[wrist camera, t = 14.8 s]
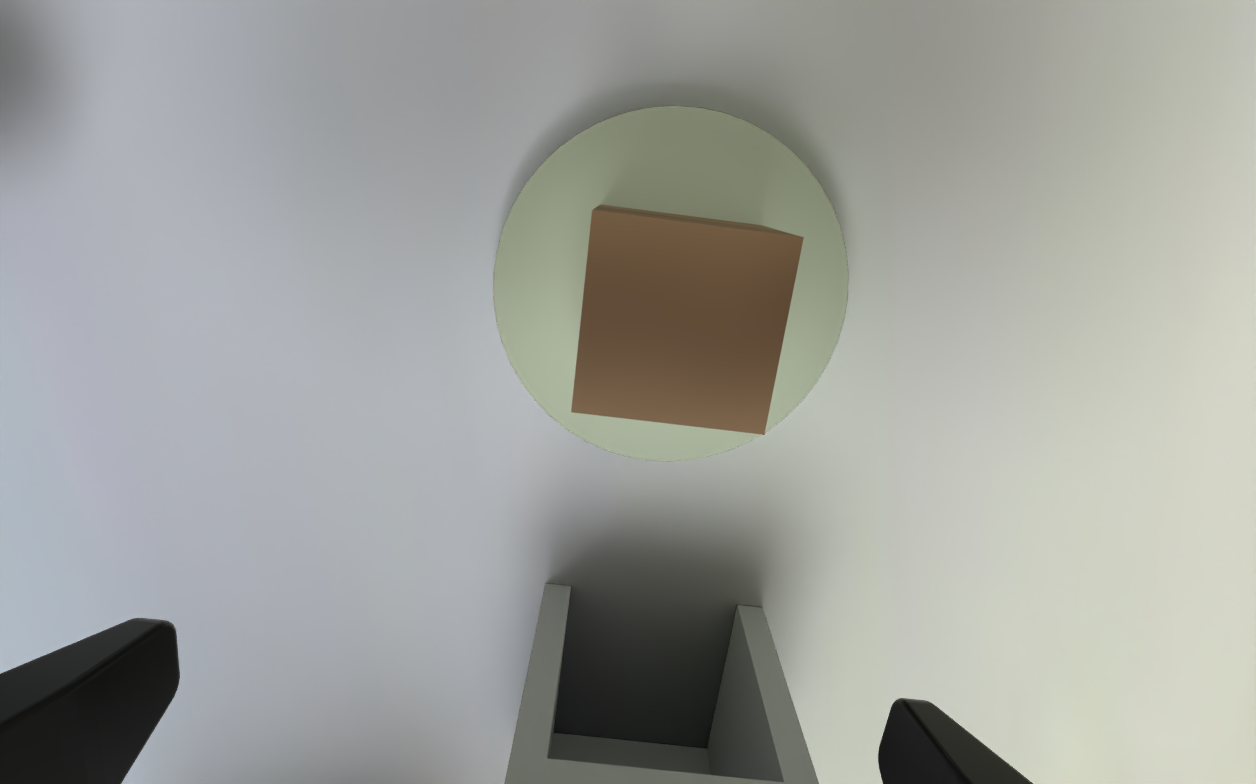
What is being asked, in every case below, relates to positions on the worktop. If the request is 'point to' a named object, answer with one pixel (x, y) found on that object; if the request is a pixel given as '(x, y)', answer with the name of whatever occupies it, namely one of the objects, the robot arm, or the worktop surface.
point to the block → (683, 319)
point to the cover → (659, 773)
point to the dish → (677, 184)
